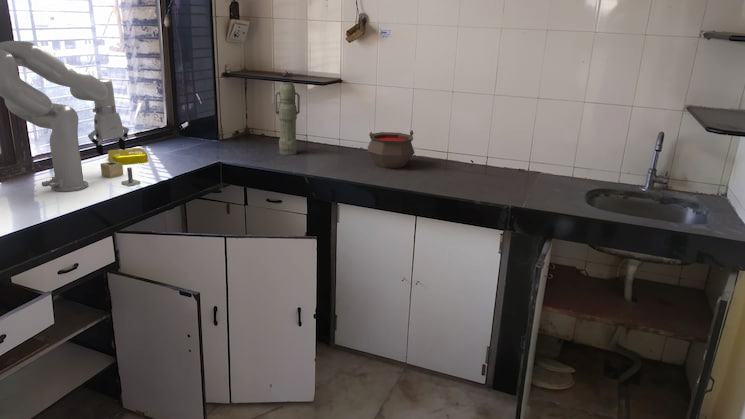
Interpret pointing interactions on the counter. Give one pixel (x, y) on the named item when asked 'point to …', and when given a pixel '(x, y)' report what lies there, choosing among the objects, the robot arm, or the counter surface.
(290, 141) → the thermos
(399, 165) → the brown cauldron
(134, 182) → the grey post on base
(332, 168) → the counter surface
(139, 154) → the element tile
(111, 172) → the tan box with hole
